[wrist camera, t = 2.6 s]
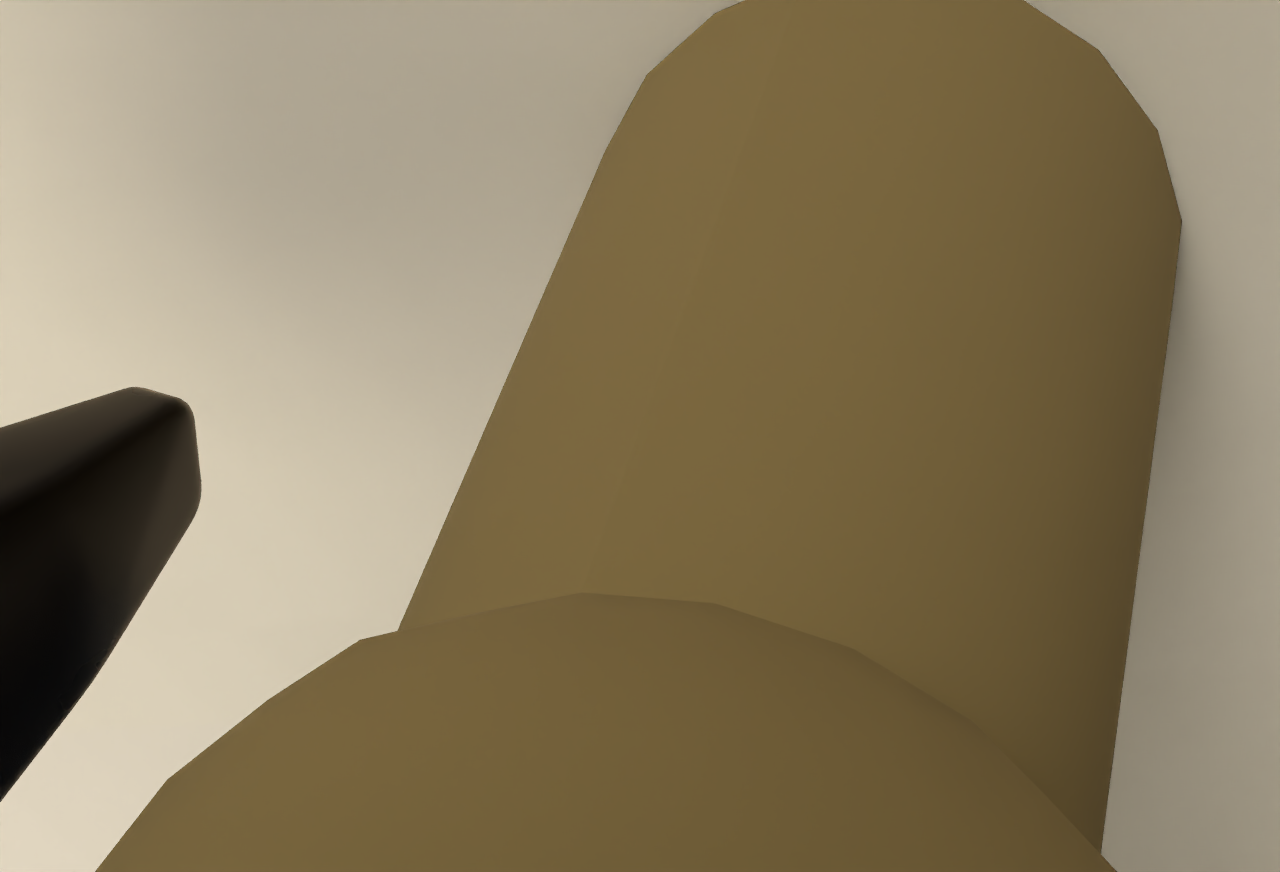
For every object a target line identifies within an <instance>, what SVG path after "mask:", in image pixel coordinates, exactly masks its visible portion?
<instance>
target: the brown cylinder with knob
mask: <svg viewBox="0 0 1280 872" xmlns="http://www.w3.org/2000/svg"><path fill="white" fill-rule="evenodd" d="M1181 223H1182V220H1181V216H1180V212H1179V209H1178V205H1177V201H1176V198H1175V194H1174V190H1173V186H1172V183H1171V179H1170V175H1169V171H1168V168H1167V164H1166V160H1165V156H1164V153H1163V149H1162V145H1161V141H1160V138H1159V134H1158V130H1157V129H1156V128H1155V126H1154V125H1153V124H1152V122H1151V121H1150V119H1149V118H1148V117H1147V115H1146V114H1145V113H1144V111H1143V110H1142V109H1141V107H1140V106H1139V104H1138V103H1137V102H1136V100H1135V99H1134V98H1133V96H1132V95H1131V94H1130V92H1129V91H1128V89H1127V88H1126V87H1125V85H1124V84H1123V83H1122V81H1121V80H1120V78H1119V77H1118V76H1117V74H1116V73H1115V72H1114V70H1113V69H1112V68H1111V66H1110V65H1109V63H1108V62H1107V61H1106V59H1105V58H1104V57H1103V55H1102V54H1101V53H1100V51H1099V50H1098V49H1096V48H1095V47H1093V46H1092V45H1090V44H1089V43H1087V42H1086V41H1084V40H1082V39H1081V38H1079V37H1078V36H1076V35H1075V34H1073V33H1072V32H1070V31H1069V30H1067V29H1066V28H1064V27H1063V26H1061V25H1060V24H1058V23H1057V22H1055V21H1054V20H1052V19H1051V18H1049V17H1048V16H1046V15H1045V14H1043V13H1042V12H1040V11H1039V10H1037V9H1036V8H1034V7H1033V6H1031V5H1030V4H1028V3H1027V2H1025V1H1024V0H745V1H743V2H740V3H738V4H736V5H733V6H731V7H729V8H726V9H724V10H722V11H719V12H717V13H715V14H714V15H713V16H711V17H710V18H709V19H708V20H707V21H706V22H705V23H704V24H703V25H701V26H700V27H699V28H698V29H697V30H696V31H695V32H694V33H693V34H691V35H690V36H689V37H688V38H687V39H686V40H685V41H684V42H683V43H681V44H680V45H679V46H678V47H677V48H676V49H675V50H674V51H673V52H671V53H670V54H669V55H668V56H667V57H666V58H665V59H664V60H663V61H661V62H660V63H659V64H658V65H657V66H656V67H655V68H654V69H653V70H651V71H650V72H649V73H648V74H647V75H646V77H645V79H644V81H643V83H642V84H641V86H640V88H639V90H638V92H637V94H636V95H635V97H634V99H633V101H632V103H631V105H630V106H629V108H628V110H627V112H626V114H625V116H624V117H623V119H622V121H621V123H620V125H619V127H618V128H617V130H616V132H615V134H614V136H613V138H612V139H611V141H610V143H609V145H608V147H607V149H606V151H605V153H604V155H603V158H602V160H601V162H600V164H599V167H598V169H597V171H596V174H595V176H594V178H593V181H592V183H591V185H590V188H589V190H588V192H587V195H586V197H585V199H584V201H583V204H582V206H581V208H580V211H579V213H578V215H577V218H576V220H575V222H574V225H573V227H572V229H571V231H570V234H569V236H568V238H567V241H566V243H565V245H564V248H563V250H562V252H561V255H560V257H559V259H558V262H557V264H556V266H555V268H554V271H553V273H552V275H551V278H550V280H549V282H548V285H547V287H546V289H545V292H544V294H543V296H542V298H541V301H540V303H539V305H538V308H537V310H536V312H535V315H534V317H533V319H532V322H531V324H530V326H529V328H528V331H527V333H526V335H525V338H524V340H523V342H522V345H521V347H520V349H519V352H518V354H517V356H516V359H515V361H514V363H513V365H512V368H511V370H510V372H509V375H508V377H507V379H506V382H505V384H504V386H503V389H502V391H501V393H500V395H499V398H498V400H497V402H496V405H495V407H494V409H493V412H492V414H491V416H490V419H489V421H488V423H487V425H486V428H485V430H484V432H483V435H482V437H481V439H480V442H479V444H478V446H477V449H476V451H475V453H474V456H473V458H472V460H471V462H470V465H469V467H468V469H467V472H466V474H465V476H464V479H463V481H462V483H461V486H460V488H459V490H458V492H457V495H456V497H455V499H454V502H453V504H452V506H451V509H450V511H449V513H448V516H447V518H446V520H445V522H444V525H443V527H442V529H441V532H440V534H439V536H438V539H437V541H436V543H435V546H434V548H433V550H432V553H431V555H430V557H429V559H428V562H427V564H426V566H425V569H424V571H423V573H422V576H421V578H420V580H419V583H418V585H417V587H416V589H415V592H414V594H413V596H412V599H411V601H410V603H409V606H408V608H407V610H406V613H405V615H404V617H403V620H402V622H401V624H400V626H399V629H398V631H396V632H392V633H387V634H383V635H379V636H375V637H370V638H366V639H362V640H359V641H358V642H356V643H355V644H353V645H352V646H350V647H348V648H347V649H345V650H344V651H342V652H341V653H339V654H338V655H336V656H335V657H333V658H332V659H330V660H329V661H327V662H325V663H324V664H322V665H321V666H319V667H318V668H316V669H315V670H313V671H312V672H310V673H309V674H307V675H306V676H304V677H302V678H301V679H299V680H298V681H296V682H295V683H293V684H292V685H290V686H289V687H287V688H286V689H284V690H282V691H281V692H279V693H278V694H276V695H275V696H273V697H272V698H270V699H269V700H267V701H266V702H265V703H264V704H262V705H261V706H260V707H258V708H257V709H256V710H255V711H253V712H252V713H251V714H250V715H248V716H247V717H246V718H245V719H243V720H242V721H241V722H240V723H238V724H237V725H236V726H234V727H233V728H232V729H231V730H229V731H228V732H227V733H226V734H224V735H223V736H222V737H221V738H219V739H218V740H217V741H216V742H214V743H213V744H212V745H211V746H209V747H208V748H207V749H205V750H204V751H203V752H202V753H200V754H199V755H198V756H197V757H195V758H194V759H193V760H192V761H190V762H189V763H188V764H187V765H185V766H184V767H183V768H182V769H180V770H179V771H178V772H176V773H175V774H174V775H173V776H171V777H170V778H169V779H168V780H167V781H166V782H165V783H164V784H163V786H162V787H161V788H160V790H159V791H158V792H157V793H156V795H155V796H154V797H153V799H152V800H151V801H150V802H149V804H148V805H147V806H146V807H145V809H144V810H143V811H142V813H141V814H140V815H139V816H138V818H137V819H136V820H135V821H134V823H133V824H132V825H131V827H130V828H129V829H128V830H127V832H126V833H125V834H124V836H123V837H122V838H121V839H120V841H119V842H118V843H117V844H116V846H115V847H114V848H113V850H112V851H111V852H110V853H109V855H108V856H107V857H106V858H105V860H104V861H103V862H102V864H101V865H100V866H99V867H98V869H97V870H96V871H95V872H1117V871H1116V870H1115V869H1114V868H1113V867H1112V866H1111V865H1110V864H1109V863H1108V862H1107V861H1106V860H1105V858H1104V857H1103V856H1102V855H1101V847H1102V840H1103V832H1104V824H1105V817H1106V809H1107V801H1108V794H1109V786H1110V778H1111V771H1112V763H1113V755H1114V748H1115V740H1116V733H1117V725H1118V717H1119V710H1120V702H1121V694H1122V687H1123V679H1124V671H1125V664H1126V656H1127V648H1128V641H1129V633H1130V625H1131V618H1132V610H1133V602H1134V595H1135V587H1136V580H1137V572H1138V564H1139V557H1140V549H1141V541H1142V534H1143V526H1144V518H1145V511H1146V503H1147V495H1148V488H1149V480H1150V472H1151V465H1152V457H1153V449H1154V442H1155V434H1156V427H1157V419H1158V411H1159V404H1160V396H1161V388H1162V381H1163V373H1164V365H1165V358H1166V350H1167V342H1168V335H1169V327H1170V319H1171V312H1172V303H1173V294H1174V285H1175V277H1176V268H1177V259H1178V250H1179V241H1180V232H1181Z"/></svg>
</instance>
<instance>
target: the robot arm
mask: <svg viewBox="0 0 1280 872" xmlns="http://www.w3.org/2000/svg"><path fill="white" fill-rule="evenodd" d="M200 497H201V476H200V467H199V458H198V449H197V439H196V430H195V421H194V416H193V412H192V410H191V408H190V407H189V405H188V404H187V403H186V402H184V401H183V400H182V399H180V398H177V397H173V396H170V395H166V394H163V393H160V392H156V391H153V390H149V389H146V388H140V387H130V388H126V389H122V390H119V391H116V392H113V393H110V394H107V395H103V396H100V397H97V398H94V399H91V400H88V401H84V402H81V403H78V404H75V405H72V406H68V407H65V408H62V409H59V410H56V411H53V412H49V413H46V414H43V415H40V416H37V417H33V418H30V419H27V420H24V421H21V422H18V423H14V424H11V425H8V426H5V427H2V428H0V802H1V801H2V799H3V798H4V797H5V795H6V794H7V793H8V791H9V790H10V789H11V788H12V786H13V785H14V784H15V782H16V781H17V780H18V779H19V777H20V776H21V775H22V773H23V772H24V771H25V770H26V768H27V767H28V766H29V764H30V763H31V762H32V760H33V759H34V758H35V757H36V755H37V754H38V753H39V751H40V750H41V749H42V748H43V746H44V745H45V744H46V742H47V741H48V740H49V739H50V737H51V736H52V735H53V733H54V732H55V731H56V729H57V728H58V727H59V726H60V724H61V723H62V722H63V720H64V719H65V718H66V717H67V715H68V714H69V713H70V711H71V710H72V709H73V707H74V706H75V705H76V703H77V702H78V701H79V699H80V698H81V697H82V695H83V694H84V692H85V691H86V690H87V688H88V687H89V686H90V684H91V683H92V681H93V680H94V678H95V677H96V675H97V674H98V672H99V671H100V669H101V668H102V666H103V665H104V663H105V662H106V660H107V659H108V657H109V656H110V654H111V652H112V651H113V649H114V648H115V646H116V644H117V643H118V641H119V639H120V638H121V636H122V634H123V633H124V631H125V630H126V628H127V626H128V625H129V623H130V621H131V620H132V618H133V617H134V615H135V613H136V612H137V610H138V608H139V607H140V605H141V604H142V602H143V600H144V599H145V597H146V595H147V594H148V592H149V590H150V589H151V587H152V586H153V584H154V582H155V581H156V579H157V577H158V576H159V574H160V573H161V571H162V569H163V568H164V566H165V564H166V563H167V561H168V560H169V558H170V556H171V555H172V553H173V551H174V550H175V548H176V546H177V545H178V543H179V542H180V540H181V538H182V537H183V535H184V533H185V532H186V530H187V529H188V527H189V525H190V524H191V522H192V520H193V518H194V516H195V514H196V511H197V509H198V506H199V502H200Z"/></svg>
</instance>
